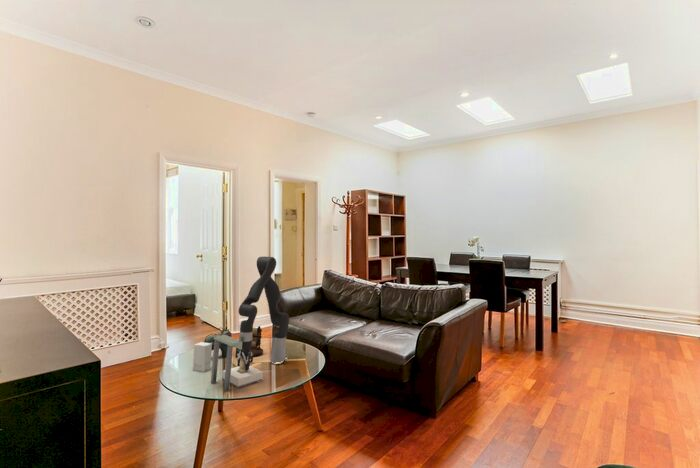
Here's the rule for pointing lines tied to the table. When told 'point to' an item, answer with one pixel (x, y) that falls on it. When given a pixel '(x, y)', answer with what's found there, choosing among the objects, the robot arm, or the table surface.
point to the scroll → (256, 341)
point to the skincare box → (202, 356)
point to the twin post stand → (231, 343)
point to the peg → (242, 365)
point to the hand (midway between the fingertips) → (243, 368)
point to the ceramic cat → (222, 345)
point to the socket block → (243, 376)
